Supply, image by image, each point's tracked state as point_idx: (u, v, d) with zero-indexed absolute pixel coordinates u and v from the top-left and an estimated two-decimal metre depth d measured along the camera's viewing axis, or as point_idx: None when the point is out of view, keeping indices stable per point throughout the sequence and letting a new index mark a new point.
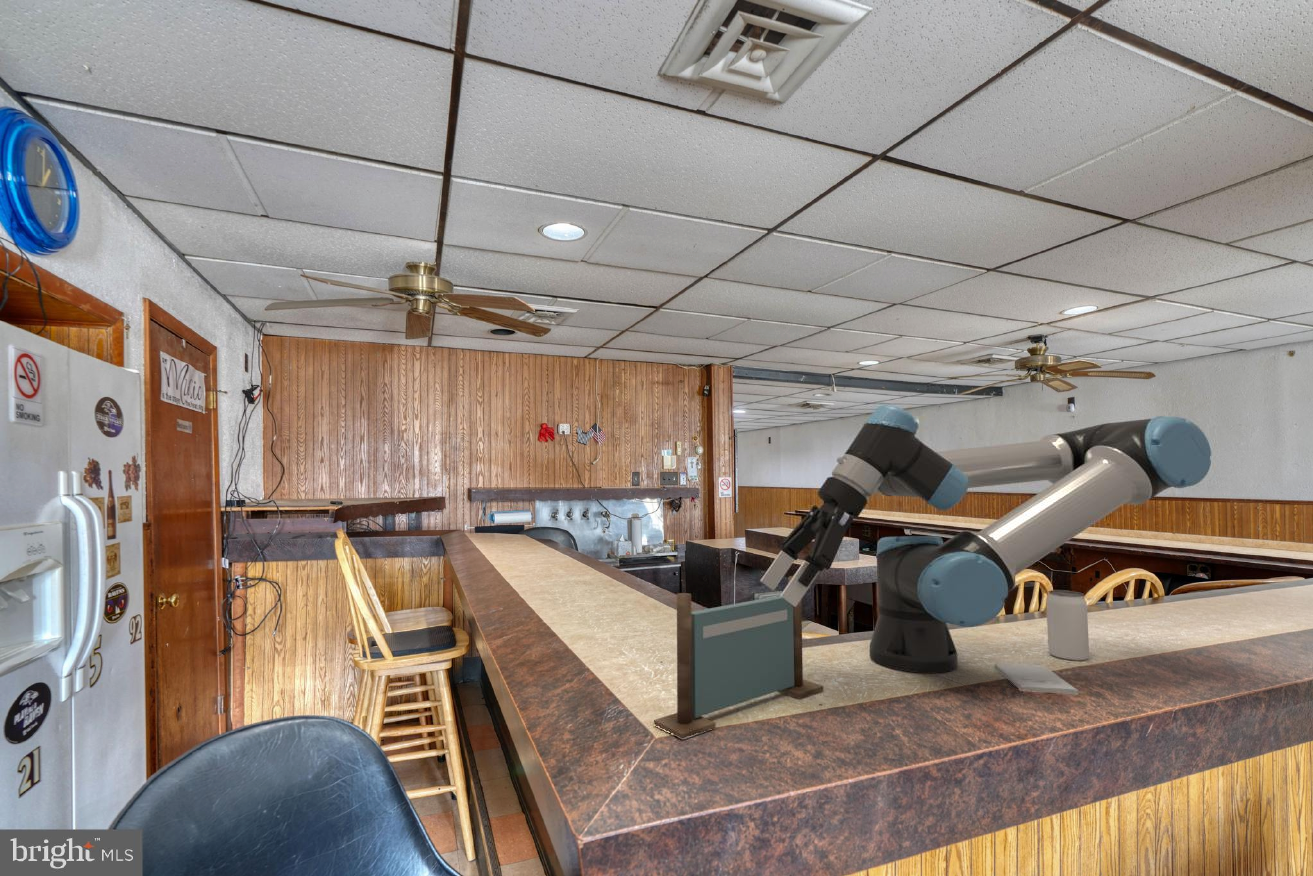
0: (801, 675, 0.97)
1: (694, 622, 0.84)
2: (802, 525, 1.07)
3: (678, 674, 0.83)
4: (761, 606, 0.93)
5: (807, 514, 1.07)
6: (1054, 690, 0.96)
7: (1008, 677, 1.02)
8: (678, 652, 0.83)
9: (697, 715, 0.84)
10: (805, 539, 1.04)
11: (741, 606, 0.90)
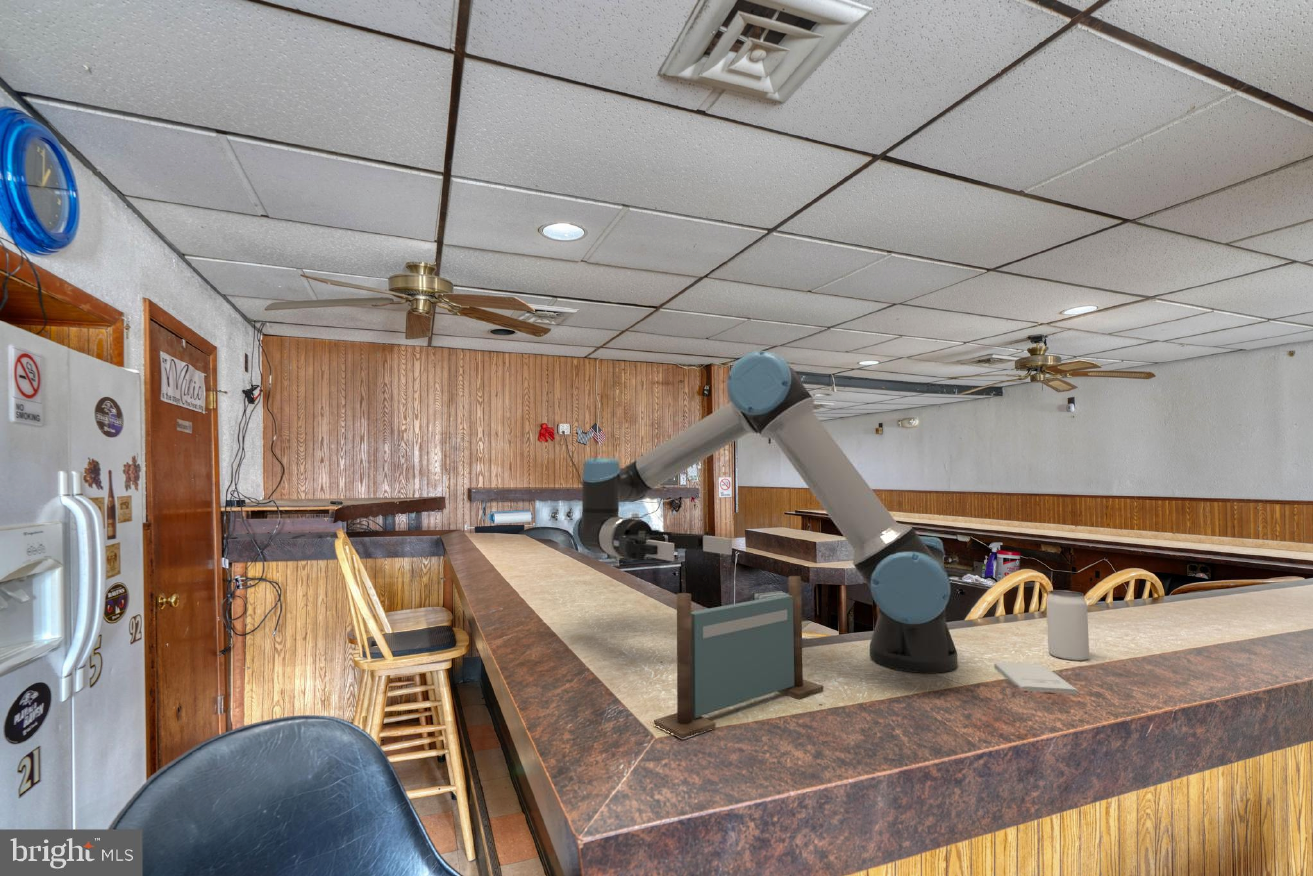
0: (801, 675, 0.97)
1: (694, 622, 0.84)
2: None
3: (678, 674, 0.83)
4: (761, 606, 0.93)
5: None
6: (1054, 690, 0.96)
7: (1008, 677, 1.02)
8: (678, 652, 0.83)
9: (697, 715, 0.84)
10: (680, 540, 1.11)
11: (741, 606, 0.90)
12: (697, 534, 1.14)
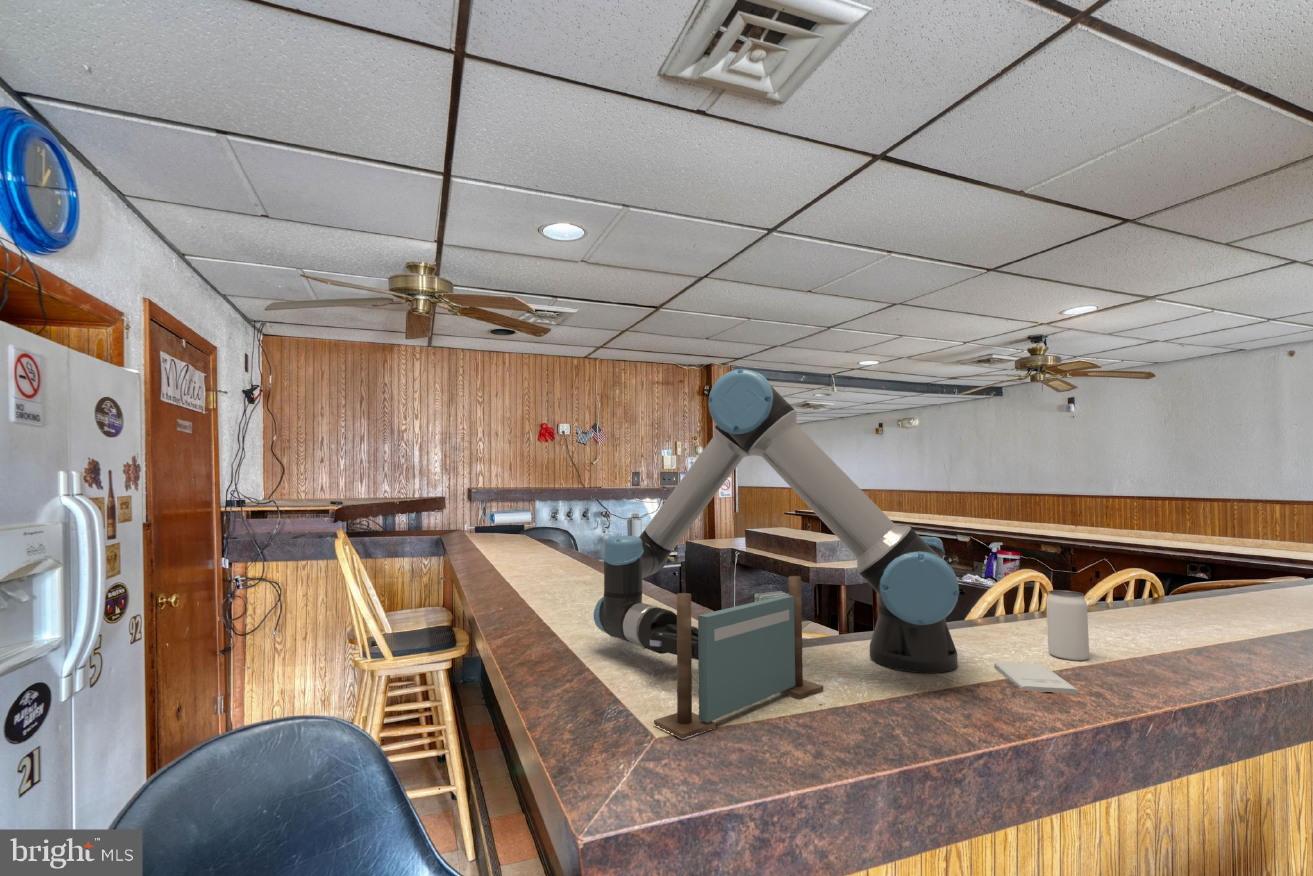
0: (801, 675, 0.97)
1: (706, 625, 0.83)
2: None
3: (678, 674, 0.83)
4: (766, 606, 0.92)
5: None
6: (1055, 689, 0.96)
7: (1008, 677, 1.02)
8: (678, 652, 0.83)
9: (709, 720, 0.82)
10: None
11: (748, 607, 0.89)
12: None
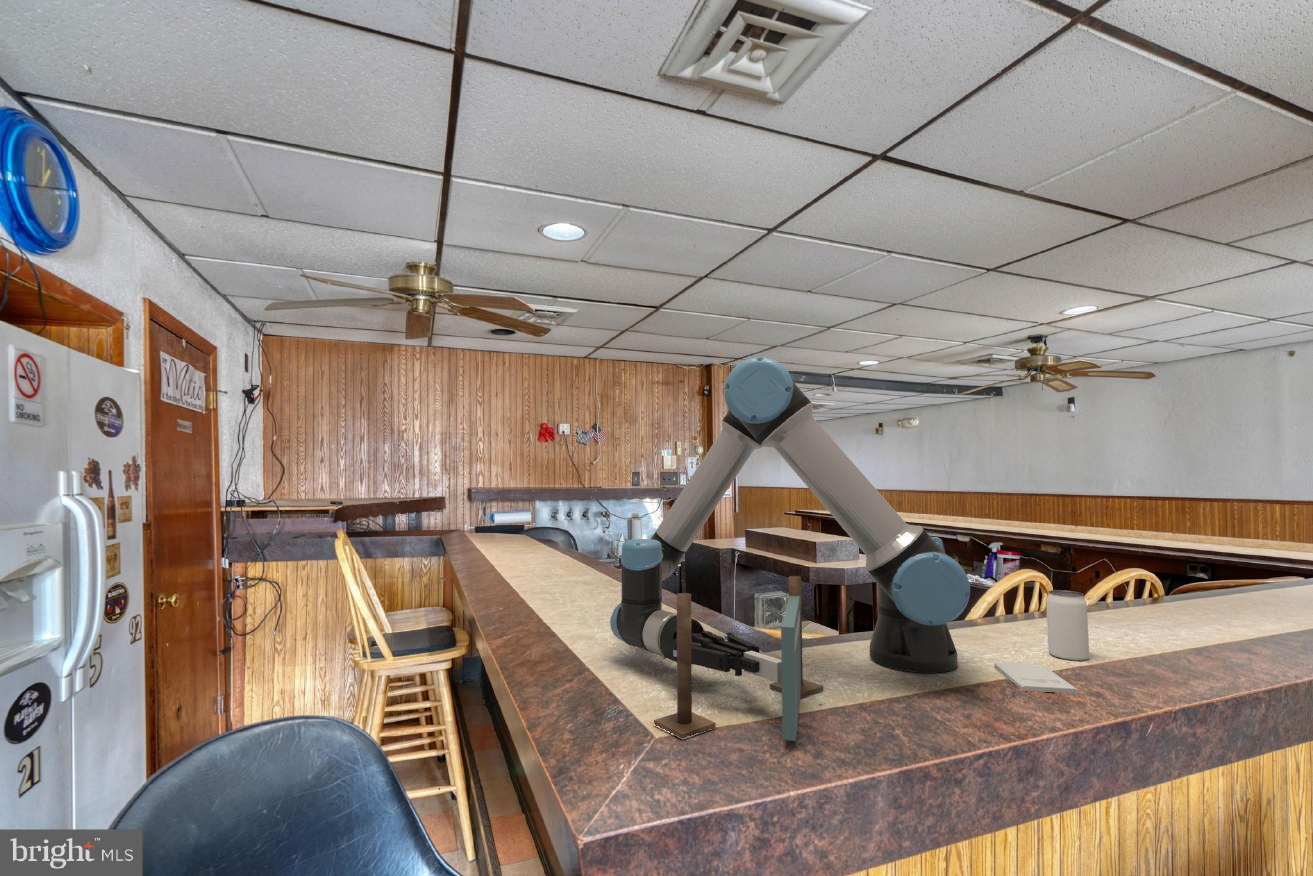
0: (801, 675, 0.97)
1: (793, 636, 0.77)
2: None
3: (678, 674, 0.83)
4: None
5: None
6: (1055, 689, 0.96)
7: (1008, 677, 1.02)
8: (678, 652, 0.83)
9: (795, 737, 0.76)
10: None
11: (796, 612, 0.86)
12: (746, 642, 0.96)
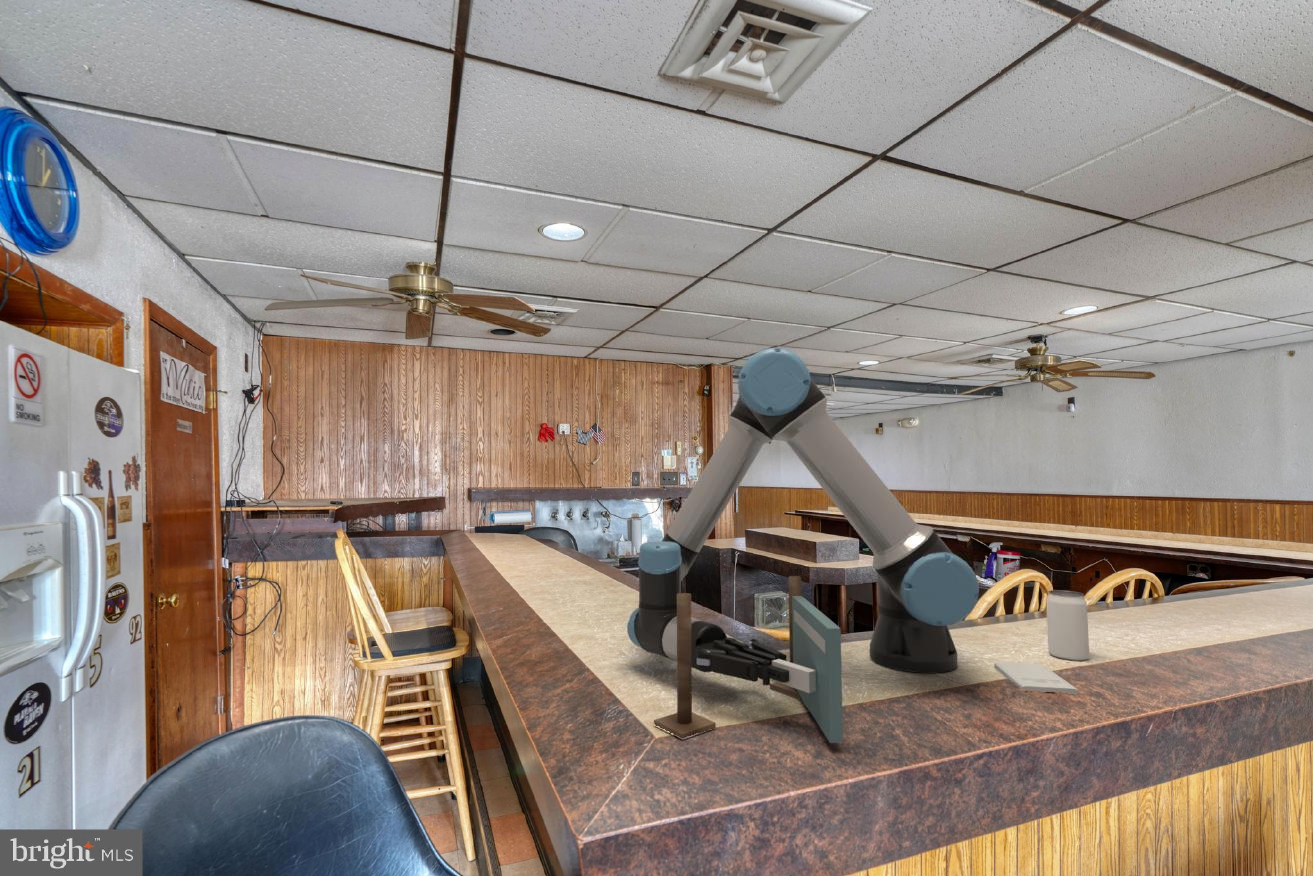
0: None
1: (840, 637, 0.76)
2: None
3: (678, 674, 0.83)
4: None
5: None
6: (1055, 689, 0.96)
7: (1008, 677, 1.02)
8: (678, 652, 0.83)
9: None
10: None
11: None
12: (772, 650, 0.92)
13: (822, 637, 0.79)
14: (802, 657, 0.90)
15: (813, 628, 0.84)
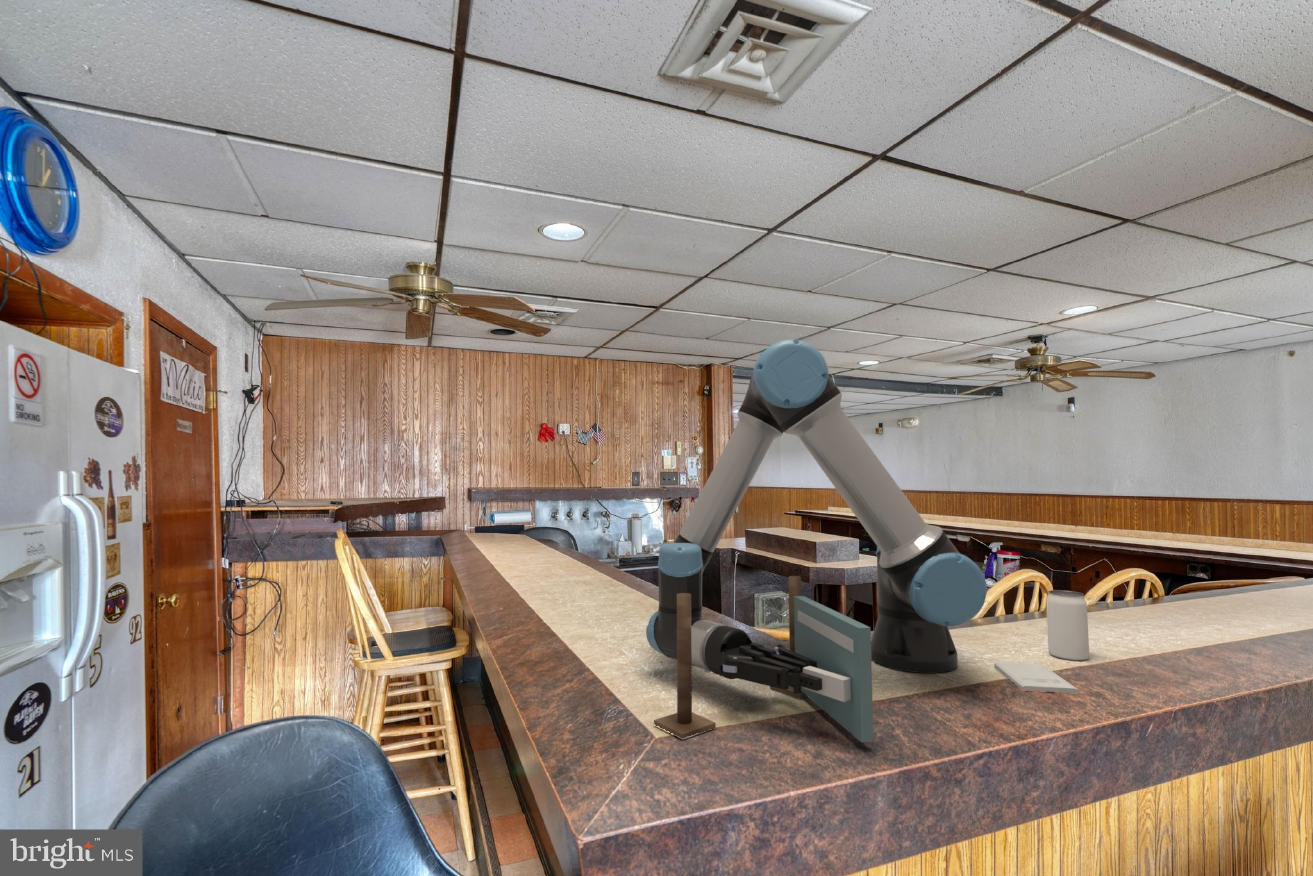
0: None
1: (870, 636, 0.77)
2: None
3: (678, 674, 0.83)
4: None
5: None
6: (1055, 689, 0.96)
7: (1008, 676, 1.02)
8: (678, 652, 0.83)
9: None
10: None
11: None
12: (801, 656, 0.88)
13: (848, 637, 0.79)
14: (812, 657, 0.90)
15: (832, 628, 0.84)
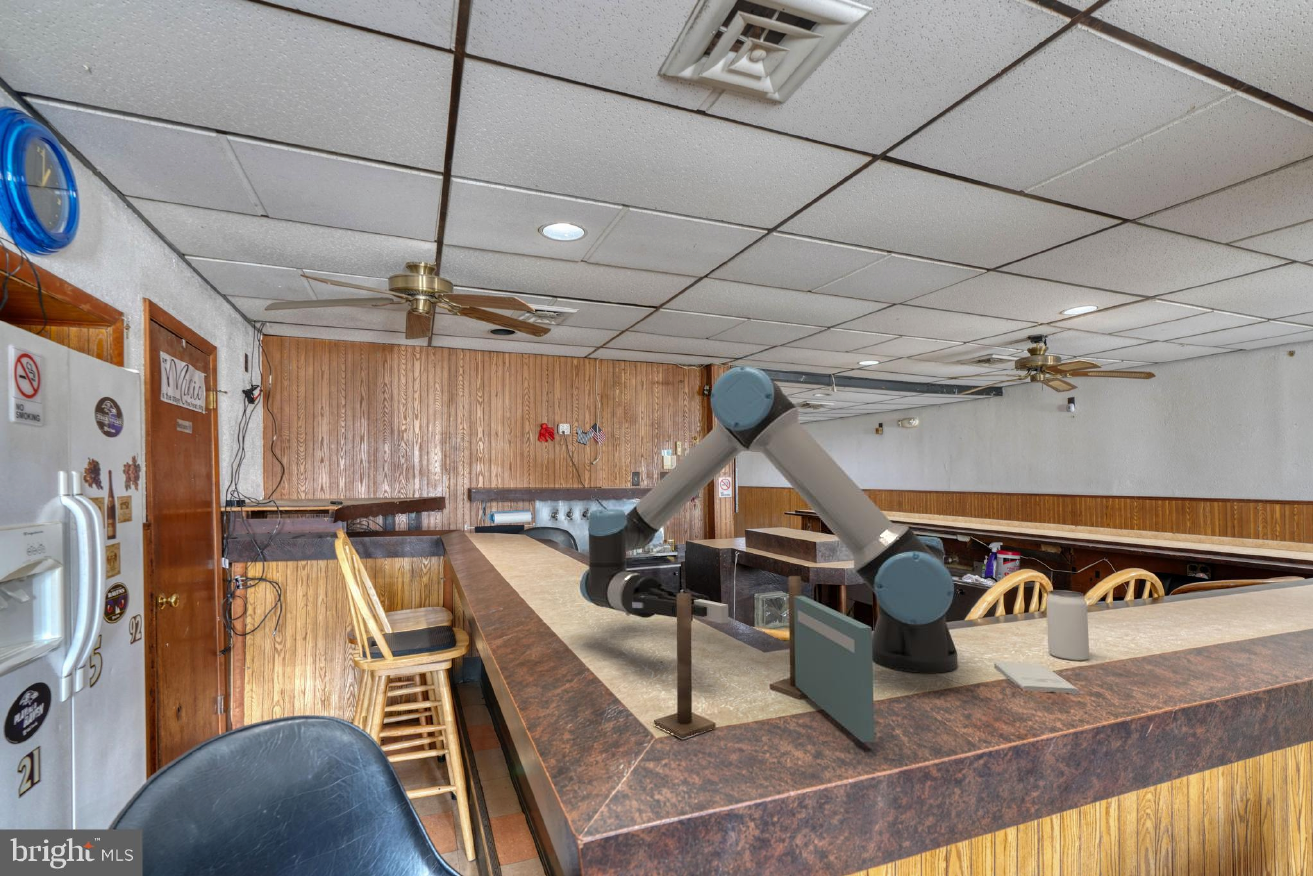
0: None
1: (871, 636, 0.77)
2: None
3: (678, 674, 0.83)
4: None
5: None
6: (1055, 689, 0.96)
7: (1009, 676, 1.02)
8: (678, 652, 0.83)
9: None
10: None
11: (837, 612, 0.86)
12: (698, 594, 1.06)
13: (849, 637, 0.79)
14: (812, 657, 0.90)
15: (833, 628, 0.84)
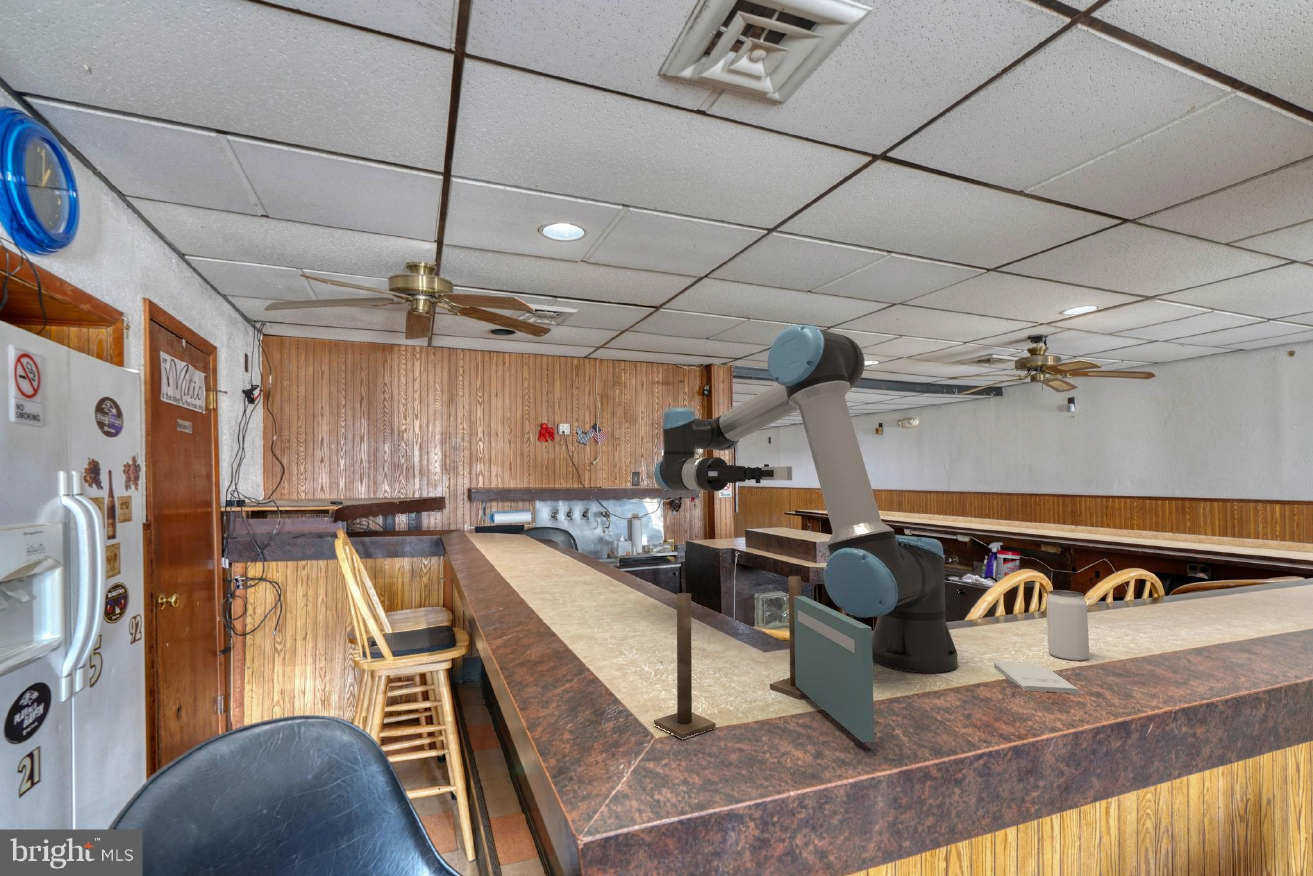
0: None
1: (871, 636, 0.77)
2: None
3: (678, 674, 0.83)
4: None
5: None
6: (1056, 689, 0.96)
7: (1009, 676, 1.03)
8: (678, 652, 0.83)
9: None
10: None
11: (837, 612, 0.86)
12: None
13: (849, 637, 0.79)
14: (812, 657, 0.90)
15: (833, 628, 0.84)
